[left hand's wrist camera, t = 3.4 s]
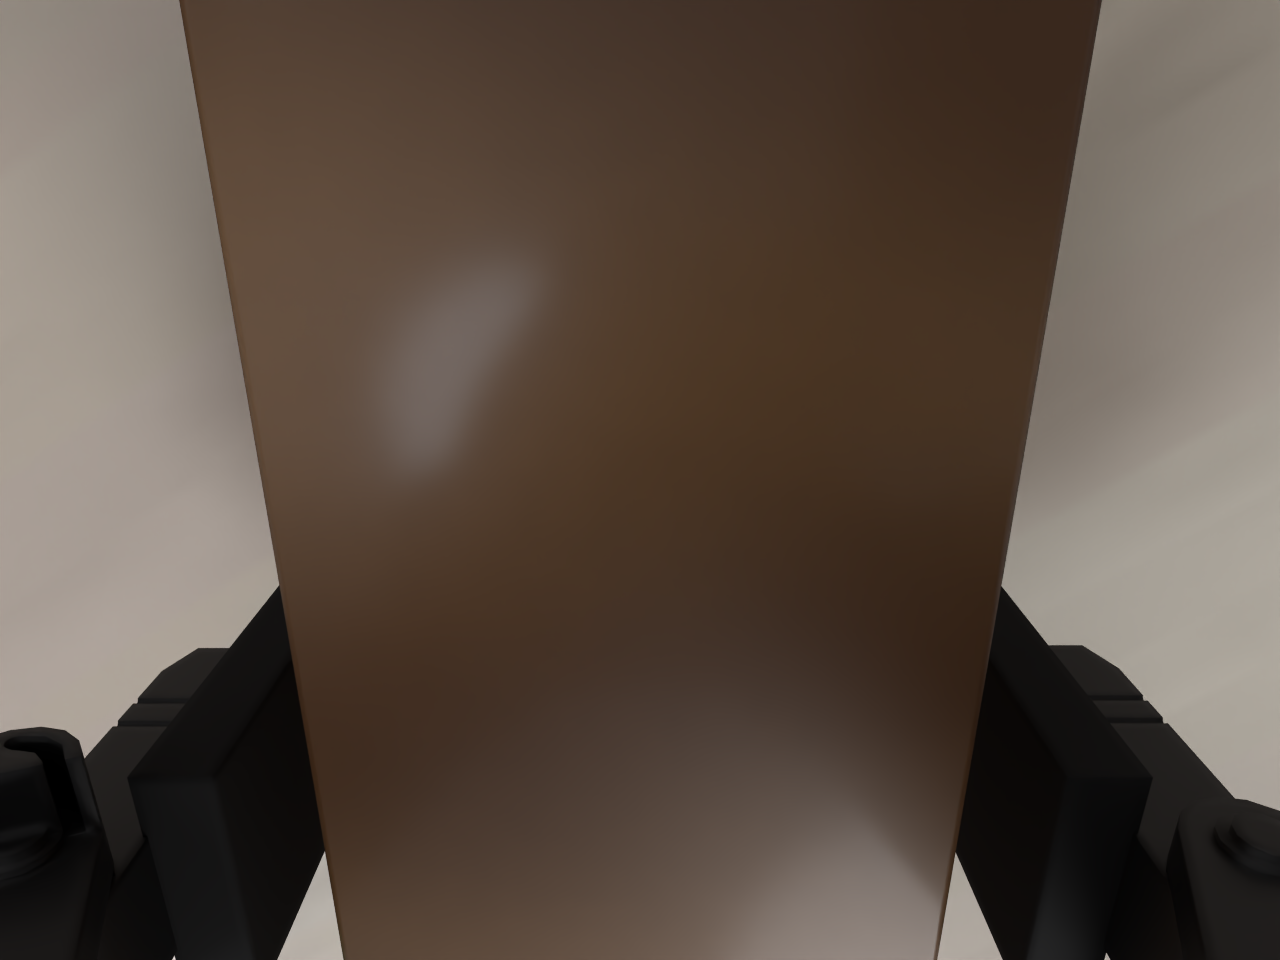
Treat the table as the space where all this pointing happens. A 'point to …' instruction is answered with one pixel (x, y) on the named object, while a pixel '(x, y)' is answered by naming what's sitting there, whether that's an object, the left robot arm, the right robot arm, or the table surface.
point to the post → (640, 445)
